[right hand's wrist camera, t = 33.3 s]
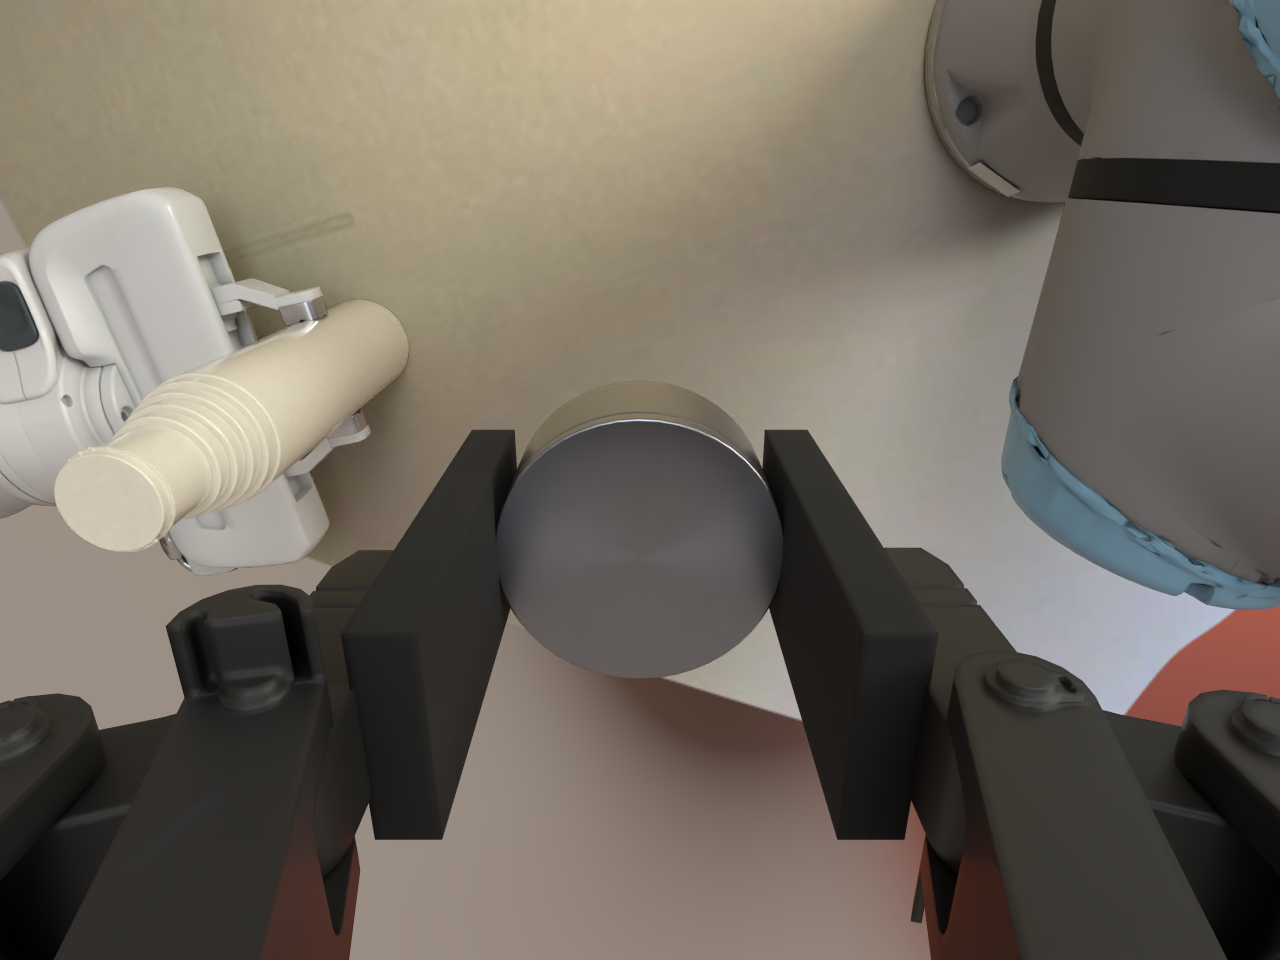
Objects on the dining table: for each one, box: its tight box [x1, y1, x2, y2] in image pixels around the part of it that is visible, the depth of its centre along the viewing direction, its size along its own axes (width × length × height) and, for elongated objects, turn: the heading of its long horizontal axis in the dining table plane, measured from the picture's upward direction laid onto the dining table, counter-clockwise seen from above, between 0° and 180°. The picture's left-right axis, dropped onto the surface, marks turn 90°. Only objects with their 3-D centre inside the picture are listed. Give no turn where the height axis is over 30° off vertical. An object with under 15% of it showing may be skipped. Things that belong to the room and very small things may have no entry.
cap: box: [496, 381, 784, 679], centre depth 13 cm, size 4×4×2 cm
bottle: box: [54, 300, 409, 553], centre depth 35 cm, size 5×5×24 cm
